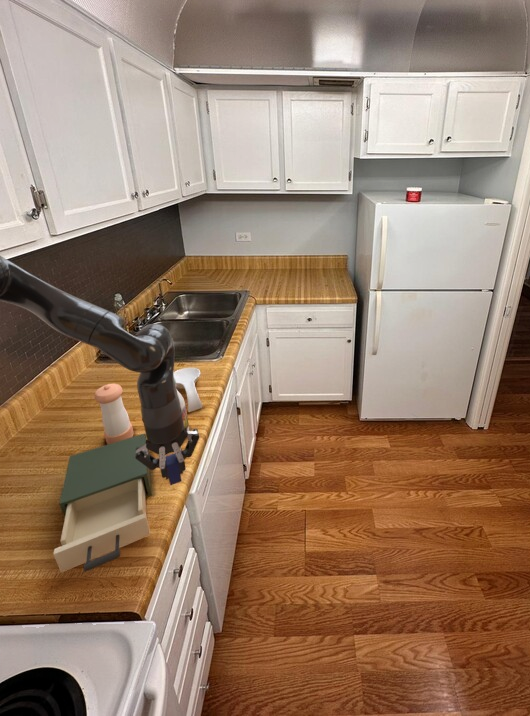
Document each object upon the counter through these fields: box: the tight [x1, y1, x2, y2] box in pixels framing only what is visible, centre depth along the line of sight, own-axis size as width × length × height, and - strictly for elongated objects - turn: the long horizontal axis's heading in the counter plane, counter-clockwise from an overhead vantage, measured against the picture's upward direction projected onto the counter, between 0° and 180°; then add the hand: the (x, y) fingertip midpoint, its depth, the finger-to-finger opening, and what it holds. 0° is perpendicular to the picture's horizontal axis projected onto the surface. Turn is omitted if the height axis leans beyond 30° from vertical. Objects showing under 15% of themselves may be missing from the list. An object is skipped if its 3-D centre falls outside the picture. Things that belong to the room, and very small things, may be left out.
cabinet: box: [58, 432, 153, 518], centre depth 85 cm, size 15×18×8 cm
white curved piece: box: [174, 366, 203, 413], centre depth 121 cm, size 24×12×7 cm, turn 32°
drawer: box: [53, 477, 151, 574], centre depth 73 cm, size 18×16×6 cm
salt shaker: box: [94, 383, 135, 445], centre depth 98 cm, size 7×7×19 cm
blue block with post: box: [165, 452, 182, 486], centre depth 78 cm, size 2×7×6 cm, turn 27°
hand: (174, 473), depth 77 cm, fingers closed on blue block with post, 2 cm apart
